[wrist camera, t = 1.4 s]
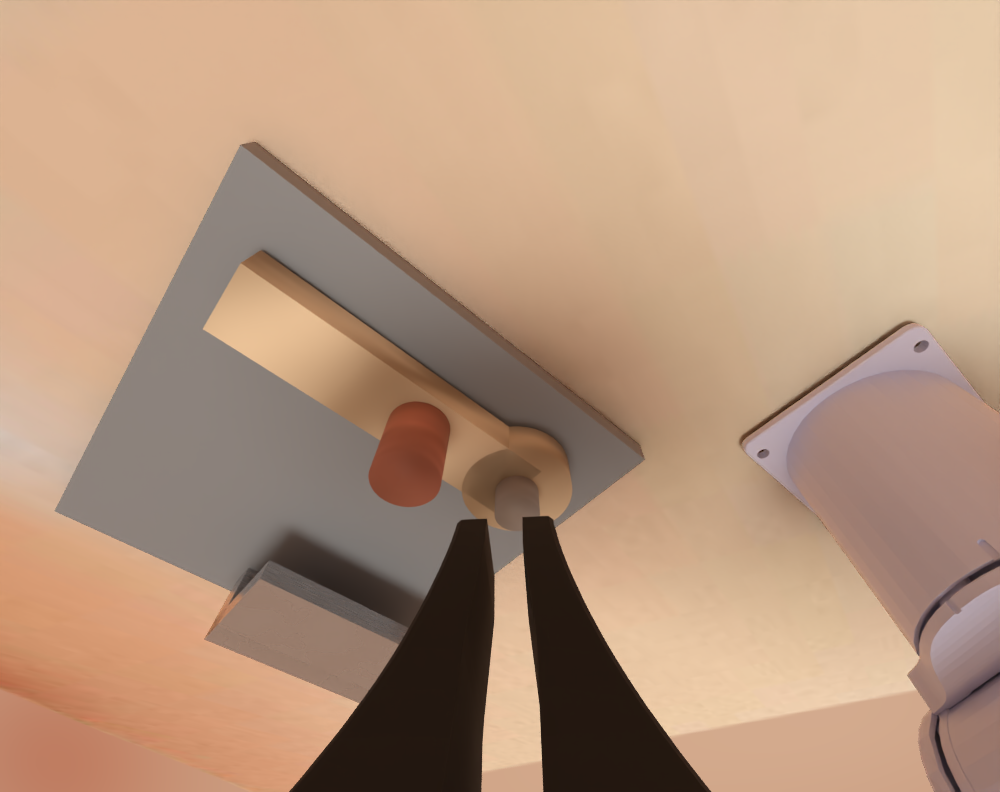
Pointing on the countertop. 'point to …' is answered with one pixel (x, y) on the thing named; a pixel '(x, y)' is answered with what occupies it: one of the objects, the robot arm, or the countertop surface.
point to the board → (305, 415)
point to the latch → (391, 401)
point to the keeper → (306, 631)
